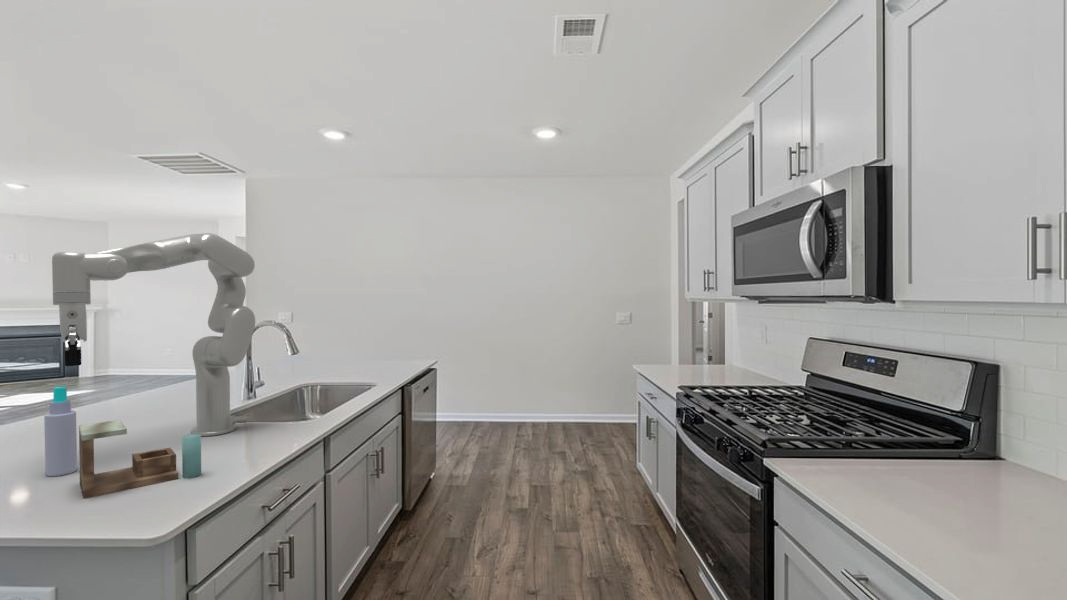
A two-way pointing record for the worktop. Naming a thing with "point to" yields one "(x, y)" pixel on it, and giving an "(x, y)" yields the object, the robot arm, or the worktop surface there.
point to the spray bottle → (60, 436)
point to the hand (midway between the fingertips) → (73, 363)
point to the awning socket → (142, 472)
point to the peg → (191, 455)
